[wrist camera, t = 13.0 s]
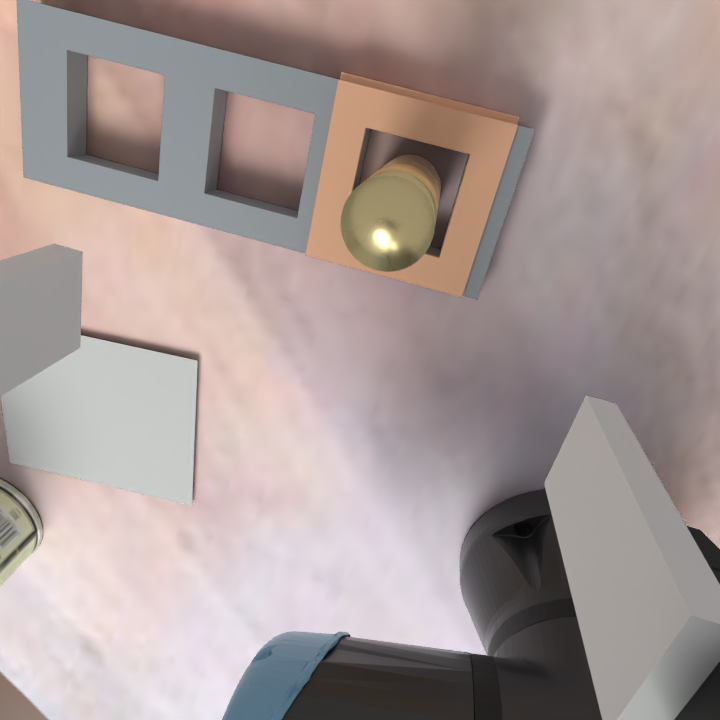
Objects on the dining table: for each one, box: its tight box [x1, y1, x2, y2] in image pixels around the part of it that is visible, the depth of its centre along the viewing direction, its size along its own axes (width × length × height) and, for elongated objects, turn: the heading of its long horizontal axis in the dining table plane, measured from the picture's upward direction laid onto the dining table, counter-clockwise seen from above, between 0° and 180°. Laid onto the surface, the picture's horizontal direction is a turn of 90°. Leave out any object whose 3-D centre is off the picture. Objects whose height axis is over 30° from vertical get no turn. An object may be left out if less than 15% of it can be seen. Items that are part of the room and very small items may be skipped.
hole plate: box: [17, 0, 535, 300], centre depth 33 cm, size 30×10×2 cm, turn 77°
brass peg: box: [341, 155, 441, 272], centre depth 29 cm, size 4×4×12 cm
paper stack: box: [1, 335, 198, 506], centre depth 43 cm, size 23×25×1 cm
